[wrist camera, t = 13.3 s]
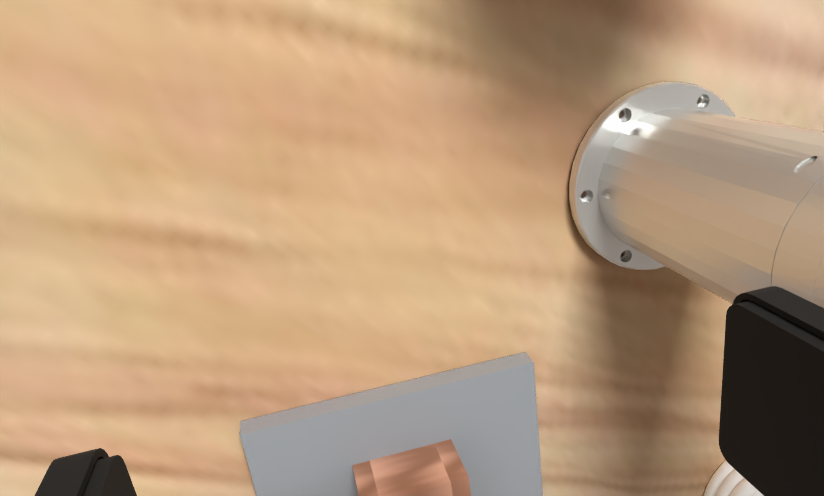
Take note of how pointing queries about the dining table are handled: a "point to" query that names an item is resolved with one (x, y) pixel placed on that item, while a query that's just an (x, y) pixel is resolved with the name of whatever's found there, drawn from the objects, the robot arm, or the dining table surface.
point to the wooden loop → (414, 473)
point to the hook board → (406, 432)
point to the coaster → (729, 483)
